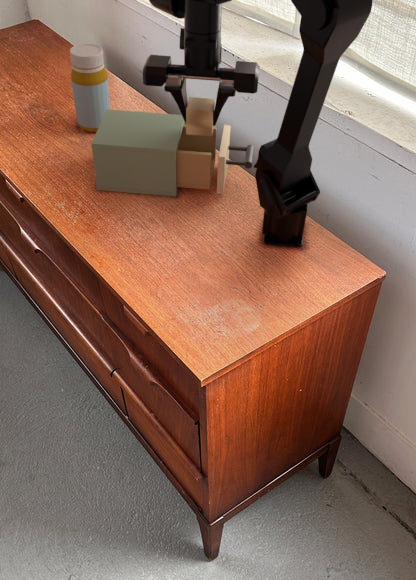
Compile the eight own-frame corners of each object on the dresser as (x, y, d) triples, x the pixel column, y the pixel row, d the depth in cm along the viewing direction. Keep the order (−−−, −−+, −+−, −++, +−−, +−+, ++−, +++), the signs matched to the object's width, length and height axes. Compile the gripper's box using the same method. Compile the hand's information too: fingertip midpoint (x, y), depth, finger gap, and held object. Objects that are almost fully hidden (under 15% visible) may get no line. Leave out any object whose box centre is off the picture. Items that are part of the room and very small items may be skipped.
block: (214, 123, 111) (215, 98, 108) (211, 136, 108) (212, 111, 105) (189, 121, 111) (189, 96, 108) (186, 134, 108) (186, 109, 105)
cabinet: (185, 160, 122) (185, 115, 115) (176, 196, 113) (175, 150, 107) (111, 154, 123) (106, 109, 116) (96, 190, 114) (91, 143, 107)
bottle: (105, 135, 127) (97, 59, 116) (72, 131, 128) (61, 55, 117) (116, 119, 132) (109, 44, 120) (84, 115, 133) (75, 40, 121)
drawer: (253, 163, 120) (256, 126, 115) (249, 196, 113) (252, 159, 107) (159, 155, 121) (157, 119, 116) (149, 188, 113) (147, 151, 108)
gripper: (264, 12, 102) (256, 106, 114) (151, 4, 103) (155, 98, 115) (261, 39, 95) (253, 136, 107) (139, 31, 96) (144, 128, 107)
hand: (200, 123), depth 109 cm, fingers closed on block, 4 cm apart
